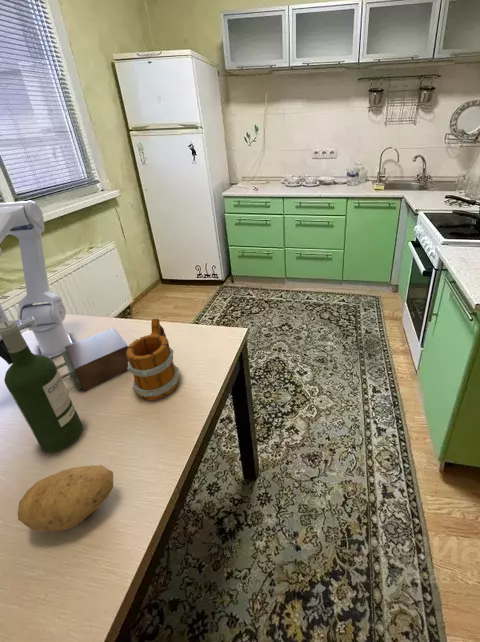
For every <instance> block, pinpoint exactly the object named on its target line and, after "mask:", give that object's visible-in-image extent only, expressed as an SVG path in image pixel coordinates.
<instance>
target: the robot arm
mask: <svg viewBox="0 0 480 642" xmlns="http://www.w3.org/2000/svg"><path fill="white" fill-rule="evenodd" d="M44 232H45V221H44V213H43V210H42V209H41V207H40V206H39V205H38V203H36V202H35V201H34V200H26V201H13V202H0V244H1V243H2V242H3V241H4V239H5V238H6V237H7V235H12V236H15V237H16V238H17V239H18V243H19V244H18V245H19V250H20V258H21V263H22V271H23V277H24V285H25V291H26V294H25V296H24V297H23V298H22V299H20V300H19V301H18V303H17V305H18V310H17V311H18V312H17V319H16V320H13V321H14V322H15V323H17V325H18V329H19V331H20V332H21V331H23V330H26V329H28V331H32V333H33V335H34V338H35V339H36V341H37V344H38V348H39V351H40V355H44V356H46V357H48V358H50V359H52V358H55V357H58V356H60V355H62V353H61V352H64V351H66V349H65V347H66V346H68V345H71V344H73V343H74V342H73V340H72V339H71V336H70V334H69V333H68V332H67V330H66V328H65V325H64V323H63V322H64V320H65V319H66V312H67V311H66V307H65V305H64V303H63V300H62V297H61V296H59V295H58V294H56V293H53V292H52V291H50V286H49V280H48V272H47V267H46V260H45V253H44V246H43V239H42V233H44ZM2 253H3V250H2V248H1V247H0V256H1V255H2ZM6 321H10V320H9V318H8V316H7V314H6V312H5V310H4V308H3V307H2V304H1V303H0V324H1V323H3V322H6ZM0 358H1V359H3V360H4V361H5V362H6V363H7V365H9V366H11V365H12V358H11V356H10V354H9V352H8V350H7V348H6V345H5V343H4V341H3V339H2V337H1V335H0Z"/></svg>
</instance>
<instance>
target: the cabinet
mask: <svg viewBox="0 0 480 642" xmlns="http://www.w3.org/2000/svg"><path fill="white" fill-rule="evenodd" d="M72 343H73V344H71V345H68V346H66V347H65V349H66V351H67V353H68V355H69V358H70V360H71V362H72V364H73V367H74V369H75V371H76V374H77V376H78V378H79V381H80V383H81V385H82V388H81V389H82V390H83V392H86V391H88V390H91V389H92V388H95V387H96V386H98V385H100V384H102V383H104V382H106V381H109V380H111V379H113V378H115V377H117V376H119V375H121V374H123V373H125V372H127V371H128V369H127V367H128V362H129V361H128V358H127V356H126V351H127V349H128V347H129V345H128V344H127V342H126V340H124V339H123V337H122V336H121V334H120V333H119V331H118V330H117V329H116V328H115V327H112V328H108V329H106V330H103V331H102V332H97V333H96V334H94V335H91V336H88V337H86V338H83V339H81V340H78V341H76V342H72Z"/></svg>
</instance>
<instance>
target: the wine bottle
mask: <svg viewBox="0 0 480 642" xmlns="http://www.w3.org/2000/svg"><path fill="white" fill-rule="evenodd" d="M14 321H15V320H9V321H6V322H3V323H1V324H0V335H1V337H2V339H3V341H4V343H5V345H6V348H7V350H8V352H9V354H10V356H11V358H12V364H10V365H9V367H8V369H7V370H6V372H5V375H4V379H3V380H4V384H5V386H6V388H7V390H8V392H9V394H10V395H11V397H12V399H13V401H14V402H15V404H16V406H17V408H18V409H19V411H20V413H21V414H22V417H23V419H24V420H25V422H26V423H27V426H28V427H29V429H30V430H31V432H32V434H33V436H34V437H35V439H36V442H37V443H38V445H39V446H40V448H41V450H42V451H44V452H47V453H56V452H60V451H62V450H65V449H66V448H68V447H70V446H72V445H73V444H74V443H75V442H76V441H77V440H78V439H79V438H80V436H81V435H82V432H83V430H84V429H83V423H82V420H81V419H80V417H79V414H78V412H77V409H76V407H75V405H74V403H73V401H72V399H71V396H70V394H69V392H68V390H67V388H66V386H65V383H64V381H63V379H61V377H60V376H61V375H60V372H59V369H57V368H56V366H57V365H56V364H55V362H54V361H53V359H52V358H48V357H46V356H44V355H42V354H34V353H33V352H32V351H31V349H30V347H29V345H28V343H27V342H26V340H25V337H23V334H22V333H21V330H20V331H19V329H18V325H17V323H15V322H14Z"/></svg>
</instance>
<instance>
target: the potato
mask: <svg viewBox="0 0 480 642" xmlns="http://www.w3.org/2000/svg"><path fill="white" fill-rule="evenodd" d="M113 489H114V471H113V470H111V469H109V468H107V467H105V466H103V465H101V464H100V465H99V464H97V465H83V466H76V467H72V468H67V469H64V470H60V471H59V472H56V473H54V474H51V475H49V476H46V477H44V478H42V479H40V480H38V481H36V482H35V483H34V484H33V485H31V487H29V488H28V489H27V490H26V491H25V493H24V495H23V496H22V498H21V499H20V501H19V502H18V507H17V509H18V510H17V520H18V521H19V522H20V523H21V524H23V525H24V526H25V527H27V528H28V529H30V530H32V531H41V532H45V533H55V532H62V531H66V530H67V531H68V530H71V529H72V528H73V527H74V528H75V526H77V525H79V524H80V523H81V522H83V521H84V520H85V519H86V518H87V517H88V516H89V515H91V514H92V513H93V512H94V511H96V510H97V509H98V508H99V507H100V506H101V505H102V504H103V503H104V502H105V501H106V500H107V499H108V497H109V496H110V494H111V492H112V491H113Z"/></svg>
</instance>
